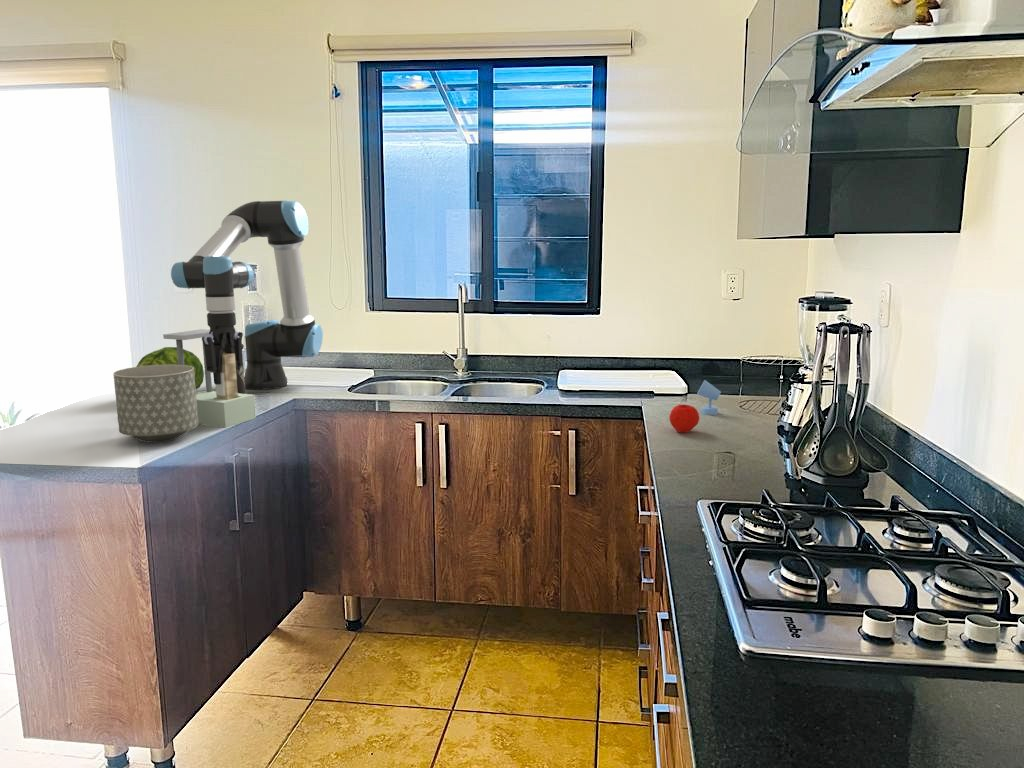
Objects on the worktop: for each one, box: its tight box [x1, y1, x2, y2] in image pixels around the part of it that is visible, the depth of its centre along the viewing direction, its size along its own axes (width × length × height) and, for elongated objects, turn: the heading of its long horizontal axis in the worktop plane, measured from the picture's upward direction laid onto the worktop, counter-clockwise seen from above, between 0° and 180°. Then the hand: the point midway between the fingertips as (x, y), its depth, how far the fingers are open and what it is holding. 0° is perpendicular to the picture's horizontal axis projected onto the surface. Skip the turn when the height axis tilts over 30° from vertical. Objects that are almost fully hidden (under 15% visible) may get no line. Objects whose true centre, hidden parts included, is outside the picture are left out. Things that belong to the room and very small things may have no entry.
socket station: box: [162, 328, 257, 428], centre depth 224 cm, size 20×14×25 cm
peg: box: [216, 353, 238, 400], centre depth 221 cm, size 4×4×14 cm
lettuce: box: [135, 346, 205, 390], centre depth 251 cm, size 18×23×19 cm
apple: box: [668, 404, 700, 434], centre depth 208 cm, size 8×8×7 cm
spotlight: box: [696, 379, 722, 416], centre depth 230 cm, size 5×10×7 cm
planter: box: [113, 365, 199, 443], centre depth 203 cm, size 19×19×18 cm
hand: (227, 393), depth 222 cm, fingers closed on peg, 4 cm apart
